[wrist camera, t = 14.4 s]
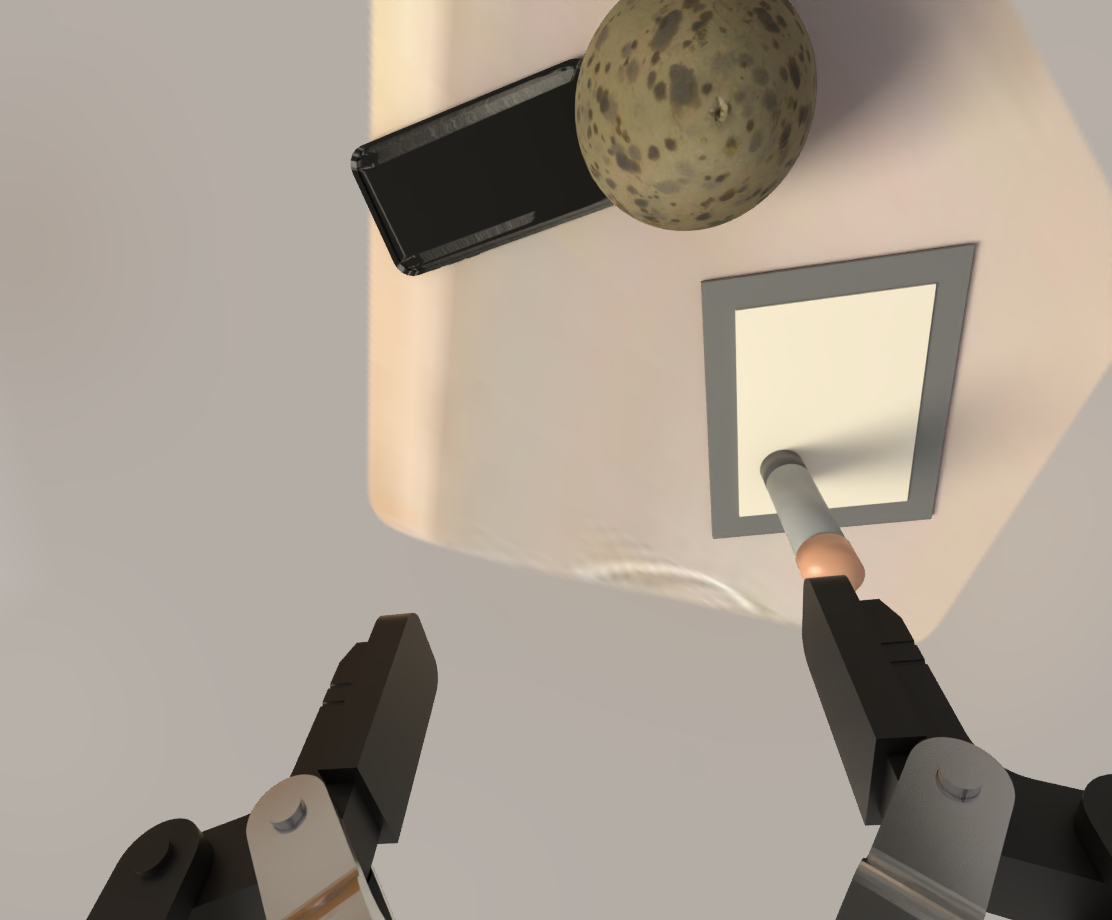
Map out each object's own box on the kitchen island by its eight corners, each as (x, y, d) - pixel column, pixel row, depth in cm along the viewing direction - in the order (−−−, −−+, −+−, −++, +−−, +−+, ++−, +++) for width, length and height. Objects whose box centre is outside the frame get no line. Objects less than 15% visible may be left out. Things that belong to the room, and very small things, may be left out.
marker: (758, 451, 46) (806, 557, 35) (805, 446, 45) (867, 552, 35) (758, 488, 47) (804, 601, 37) (803, 484, 47) (862, 597, 36)
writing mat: (701, 281, 41) (702, 283, 40) (971, 243, 39) (976, 245, 38) (712, 535, 50) (713, 540, 50) (928, 515, 48) (932, 520, 48)
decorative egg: (791, -14, 33) (919, -81, 20) (756, 210, 38) (838, 271, 25) (581, -16, 33) (572, -82, 20) (575, 205, 39) (565, 265, 26)
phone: (343, 153, 37) (589, 51, 34) (350, 151, 38) (590, 52, 35) (403, 282, 41) (631, 201, 38) (407, 278, 42) (630, 198, 39)
